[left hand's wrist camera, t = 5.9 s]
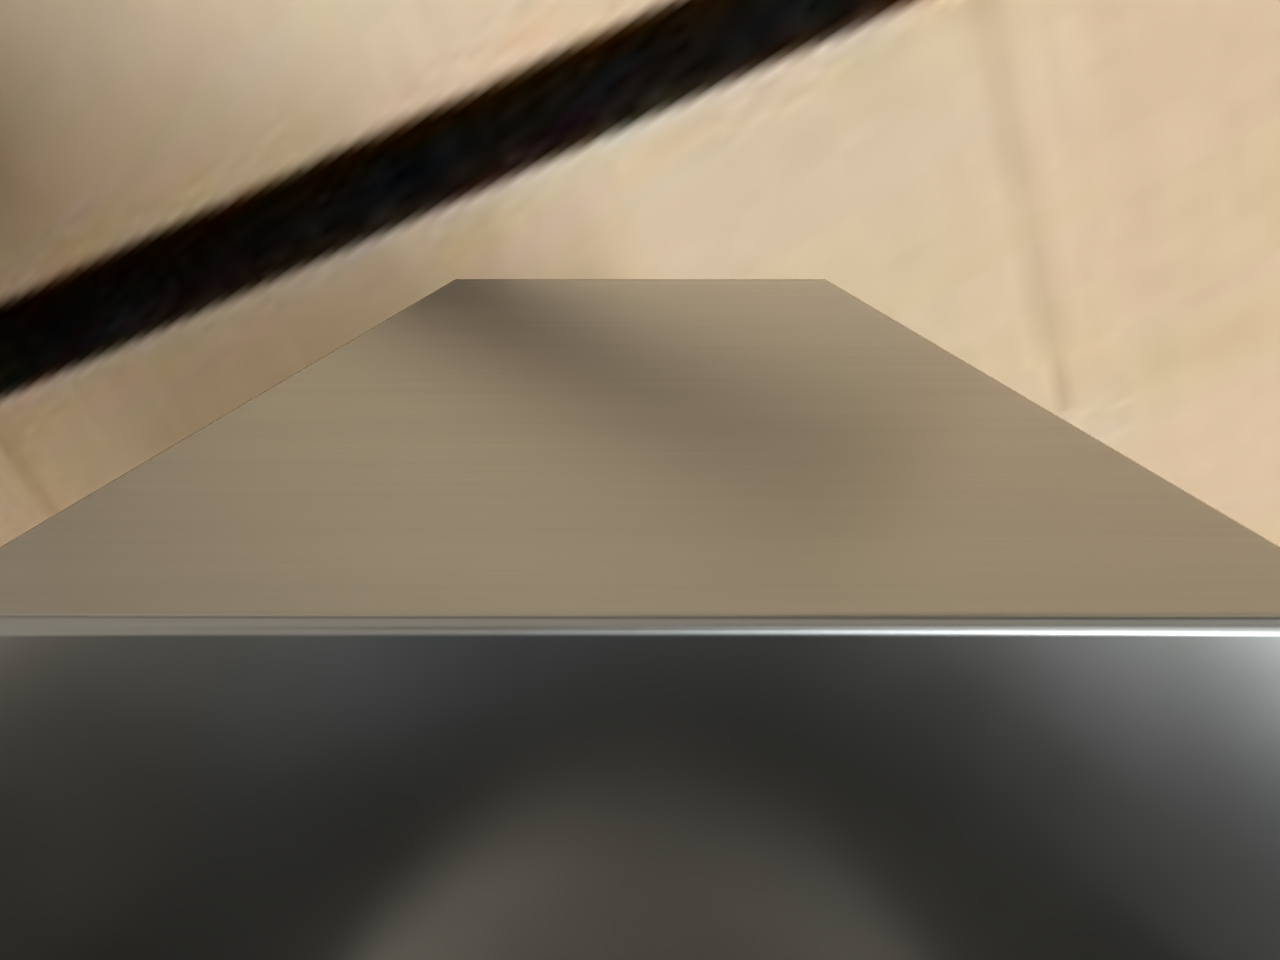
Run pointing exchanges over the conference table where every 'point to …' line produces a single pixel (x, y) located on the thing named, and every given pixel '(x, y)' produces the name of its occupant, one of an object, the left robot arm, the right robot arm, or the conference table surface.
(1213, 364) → the conference table surface
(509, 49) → the conference table surface
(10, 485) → the conference table surface
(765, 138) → the conference table surface
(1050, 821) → the box
